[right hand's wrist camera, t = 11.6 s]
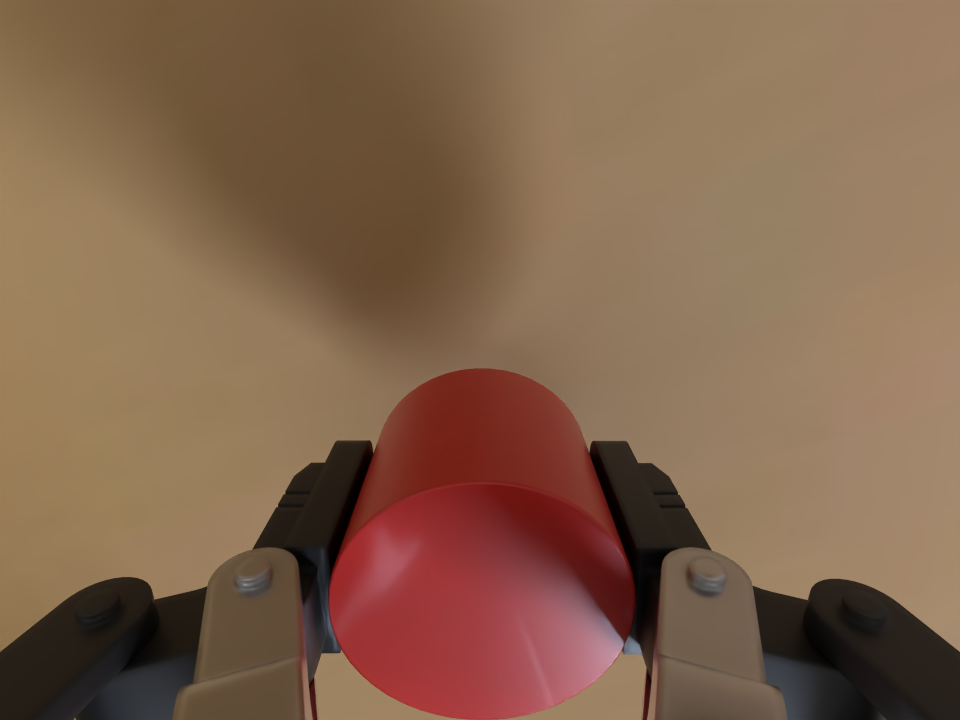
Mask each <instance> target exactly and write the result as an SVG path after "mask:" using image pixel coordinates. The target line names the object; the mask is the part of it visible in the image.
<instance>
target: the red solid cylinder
mask: <svg viewBox="0 0 960 720" xmlns="http://www.w3.org/2000/svg"><path fill="white" fill-rule="evenodd" d="M328 609H329V617H330V622H331V625H332V628H333V632H334V635H335V637H336V639H337V641H338V644H339V646H340V648H341V650H342V651H343V653H344V654H345V656H346V657H347V659H348V660H349V662H350V663H351V664H352V665H353V666H354V667H355V668H356V670H357V671H358V672H359V673H360V674H361V675H362V676H363V677H364V678H365V679H367V680H368V681H369V682H370V683H371V684H372V685H374V686H375V687H376V688H378V689H379V690H381V691H382V692H384V693H385V694H387V695H388V696H390V697H392V698H394V699H396V700H398V701H400V702H402V703H404V704H406V705H409V706H411V707H414V708H416V709H419V710H422V711H425V712H429V713H432V714H436V715H441V716H446V717H451V718H459V719H469V720H493V719H505V718H512V717H518V716H523V715H528V714H531V713H535V712H538V711H542V710H545V709H547V708H550V707H552V706H555V705H558V704H560V703H562V702H564V701H566V700H568V699H570V698H572V697H574V696H575V695H577V694H578V693H580V692H581V691H583V690H584V689H586V688H587V687H589V686H590V685H591V684H592V683H594V682H595V681H596V680H597V679H598V678H600V677H601V676H602V675H603V674H604V673H605V672H606V670H607V669H608V668H609V667H610V666H611V665H612V664H613V663H614V661H615V660H616V658H617V657H618V655H619V654H620V653H621V651H622V649H623V647H624V645H625V643H626V641H627V639H628V637H629V635H630V631H631V628H632V625H633V622H634V616H635V609H636V587H635V583H634V578H633V573H632V570H631V567H630V564H629V562H628V559H627V556H626V553H625V551H624V548H623V545H622V542H621V540H620V537H619V534H618V531H617V529H616V526H615V523H614V520H613V518H612V515H611V512H610V509H609V506H608V504H607V501H606V498H605V495H604V493H603V490H602V487H601V484H600V482H599V479H598V476H597V473H596V471H595V468H594V465H593V462H592V460H591V457H590V454H589V451H588V449H587V446H586V443H585V440H584V438H583V435H582V432H581V430H580V427H579V425H578V423H577V421H576V419H575V418H574V416H573V414H572V413H571V411H570V410H569V409H568V408H567V406H566V405H565V404H564V403H563V402H562V401H561V400H560V399H559V398H558V397H557V396H556V395H555V394H554V393H552V392H551V391H550V390H548V389H547V388H546V387H544V386H543V385H541V384H539V383H537V382H535V381H533V380H532V379H529V378H527V377H524V376H522V375H519V374H516V373H512V372H508V371H504V370H496V369H467V370H459V371H455V372H451V373H447V374H444V375H441V376H439V377H436V378H434V379H431V380H430V381H428V382H426V383H424V384H422V385H420V386H419V387H417V388H416V389H415V390H413V391H412V392H410V393H409V394H408V395H407V396H406V397H405V398H404V399H403V400H402V401H401V402H399V404H398V405H397V406H396V407H395V409H394V410H393V411H392V412H391V414H390V416H389V417H388V419H387V421H386V422H385V424H384V427H383V429H382V432H381V434H380V437H379V440H378V442H377V445H376V448H375V451H374V454H373V457H372V459H371V462H370V465H369V468H368V471H367V474H366V476H365V479H364V482H363V485H362V488H361V491H360V493H359V496H358V499H357V502H356V505H355V508H354V510H353V513H352V516H351V519H350V522H349V525H348V527H347V530H346V533H345V536H344V539H343V541H342V544H341V547H340V550H339V553H338V556H337V558H336V561H335V564H334V567H333V570H332V574H331V578H330V582H329V588H328Z"/></svg>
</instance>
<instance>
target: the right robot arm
mask: <svg viewBox="0 0 960 720" xmlns="http://www.w3.org/2000/svg"><path fill="white" fill-rule="evenodd" d="M372 457H373V447H372V443H371V441H336V442H335V444H334V446H333V448H332V450H331V452H330V454H329V456H328V458H327V460H326V462H325V463H310V464H309V465H308V466H307V467H305V468H304V469H303V470H301V471H300V472H299V473H298V474H296V475H295V476H294V477H293V479H292V481H291V483H290V484H289V486H288V488H287V490H286V493H285V494H284V495H283V497H282V498H281V500H280V502H279V504H278V507H276V509H275V511H274V512H273V514H272V516H271V518H270V519H269V521H268V523H267V525H266V526H265V528H264V530H263V532H262V533H261V535H260V537H259V539H258V540H257V542H256V544H255V546H254V547H253V549H252V550H249V551H246V552H243V553H241V554H239V555H236V556H234V557H233V558H231V559H229V560H228V561H226V562H225V563H224V564H222V565H221V566H220V567H219V568H218V569H217V570H216V571H215V572H214V573H213V575H212V576H211V578H210V580H209V582H208V586H207V587H204V588H201V589H198V590H194V591H190V592H186V593H182V594H177V595H173V596H169V597H164V598H160V599H156V600H154V596H153V593H152V589H151V587H150V585H149V584H148V583H147V582H145V581H144V580H141V579H138V578H133V577H121V578H114V579H109V580H105V581H102V582H99V583H96V584H94V585H91V586H89V587H87V588H85V589H83V590H81V591H79V592H77V593H75V594H74V595H72V596H71V597H69V598H68V599H66V600H65V601H64V602H62V603H61V604H60V605H59V606H57V607H56V608H55V609H54V610H52V611H51V612H50V613H49V614H47V615H46V616H45V617H44V618H42V619H41V620H40V621H39V622H37V623H36V624H35V625H34V626H32V627H31V628H30V629H29V630H27V631H26V632H25V633H24V634H22V635H21V636H20V637H19V638H17V639H16V640H15V641H14V642H12V643H11V644H10V645H8V646H7V647H6V648H5V649H3V650H2V651H1V652H0V720H73V719H74V718H76V720H319V714H318V702H317V690H316V682H315V672H316V669H317V666H318V663H319V659H320V656H321V653H340V652H341V648H340V646H339V644H338V641H337V639H336V637H335V635H334V632H333V628H332V625H331V622H330V617H329V609H328V588H329V582H330V578H331V574H332V570H333V567H334V564H335V561H336V558H337V556H338V553H339V550H340V547H341V544H342V541H343V539H344V536H345V533H346V530H347V527H348V525H349V522H350V519H351V516H352V513H353V510H354V508H355V505H356V502H357V499H358V496H359V493H360V491H361V488H362V485H363V482H364V479H365V476H366V474H367V471H368V468H369V465H370V462H371V459H372ZM590 457H591V460H592V462H593V465H594V468H595V471H596V473H597V476H598V479H599V482H600V484H601V487H602V490H603V493H604V495H605V498H606V501H607V504H608V506H609V509H610V512H611V515H612V518H613V520H614V523H615V526H616V529H617V531H618V534H619V537H620V540H621V542H622V545H623V548H624V551H625V553H626V556H627V559H628V562H629V564H630V567H631V570H632V573H633V578H634V583H635V587H636V609H635V616H634V622H633V625H632V628H631V631H630V635H629V637H628V639H627V641H626V643H625V645H624V647H623V649H622V651H623V654H642V655H643V658H644V661H645V664H646V667H647V668H646V675H645V682H644V690H643V702H642V714H641V720H960V652H959V651H958V650H957V649H955V648H954V647H953V646H952V645H950V644H949V643H948V642H947V641H945V640H944V639H943V638H941V637H940V636H939V635H938V634H936V633H935V632H934V631H933V630H931V629H930V628H929V627H928V626H926V625H925V624H924V623H923V622H921V621H920V620H919V619H918V618H916V617H915V616H914V615H913V614H911V613H910V612H909V611H908V610H906V609H905V608H904V607H903V606H901V605H900V604H899V603H898V602H896V601H895V600H893V599H892V598H890V597H889V596H887V595H886V594H884V593H882V592H880V591H878V590H876V589H874V588H872V587H869V586H867V585H864V584H861V583H858V582H854V581H850V580H843V579H827V580H823V581H820V582H818V583H816V584H815V585H814V586H813V587H812V589H811V591H810V594H809V598H808V600H804V599H800V598H796V597H791V596H787V595H783V594H779V593H774V592H770V591H767V590H763V589H760V588H757V587H755V586H752V582H751V580H750V578H749V576H748V575H747V573H746V572H745V571H744V570H743V569H742V568H741V567H740V566H739V565H738V564H736V563H735V562H734V561H732V560H731V559H729V558H727V557H726V556H724V555H721V554H719V553H717V552H714V551H712V550H711V548H710V547H709V545H708V543H707V542H706V540H705V538H704V536H703V535H702V533H701V531H700V529H699V528H698V526H697V524H696V523H695V521H694V519H693V517H692V516H691V514H690V512H689V510H688V509H687V508H685V504H684V502H683V500H682V498H681V497H680V495H678V492H677V490H676V488H675V486H674V485H673V483H672V481H671V479H670V478H669V476H667V475H666V474H665V473H664V472H662V471H661V470H660V469H658V468H657V467H656V466H654V465H653V464H652V463H638V462H637V460H636V458H635V456H634V454H633V452H632V450H631V448H630V446H629V444H628V443H627V442H626V441H592V443H591V446H590Z"/></svg>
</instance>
